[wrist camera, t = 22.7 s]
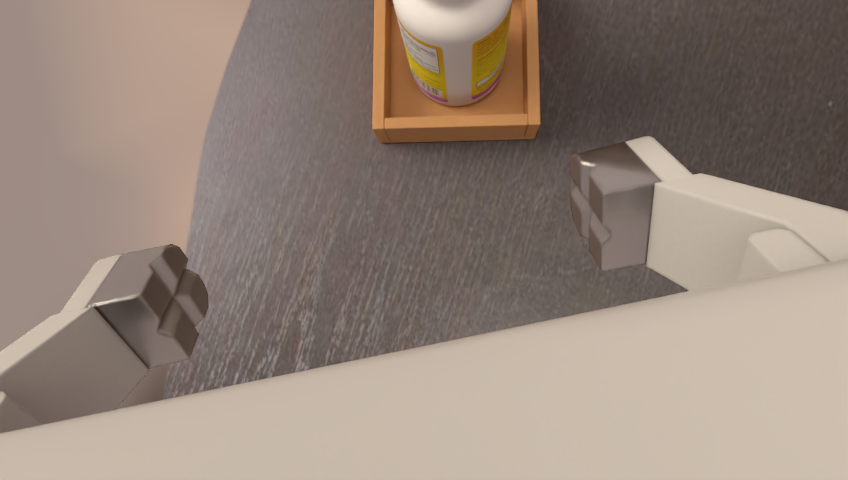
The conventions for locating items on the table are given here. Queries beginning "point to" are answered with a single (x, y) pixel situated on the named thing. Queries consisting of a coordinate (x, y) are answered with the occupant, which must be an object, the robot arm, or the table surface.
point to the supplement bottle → (455, 46)
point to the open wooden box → (432, 122)
